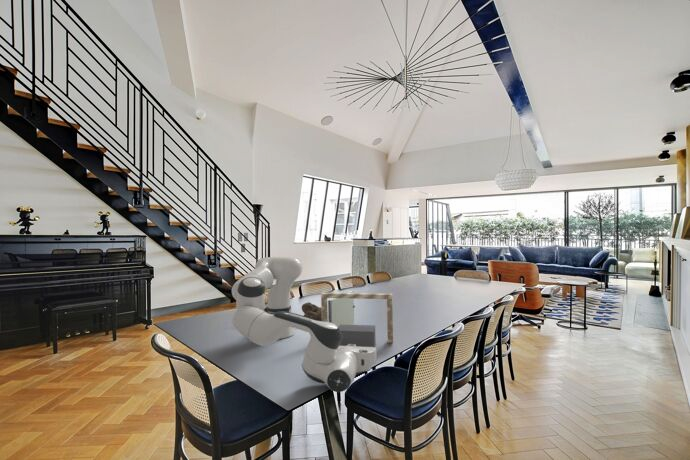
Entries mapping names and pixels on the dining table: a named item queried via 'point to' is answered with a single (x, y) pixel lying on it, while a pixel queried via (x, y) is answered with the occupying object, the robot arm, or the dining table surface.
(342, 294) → the door frame
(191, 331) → the dining table surface
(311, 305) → the decorative stone
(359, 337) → the block
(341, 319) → the door
